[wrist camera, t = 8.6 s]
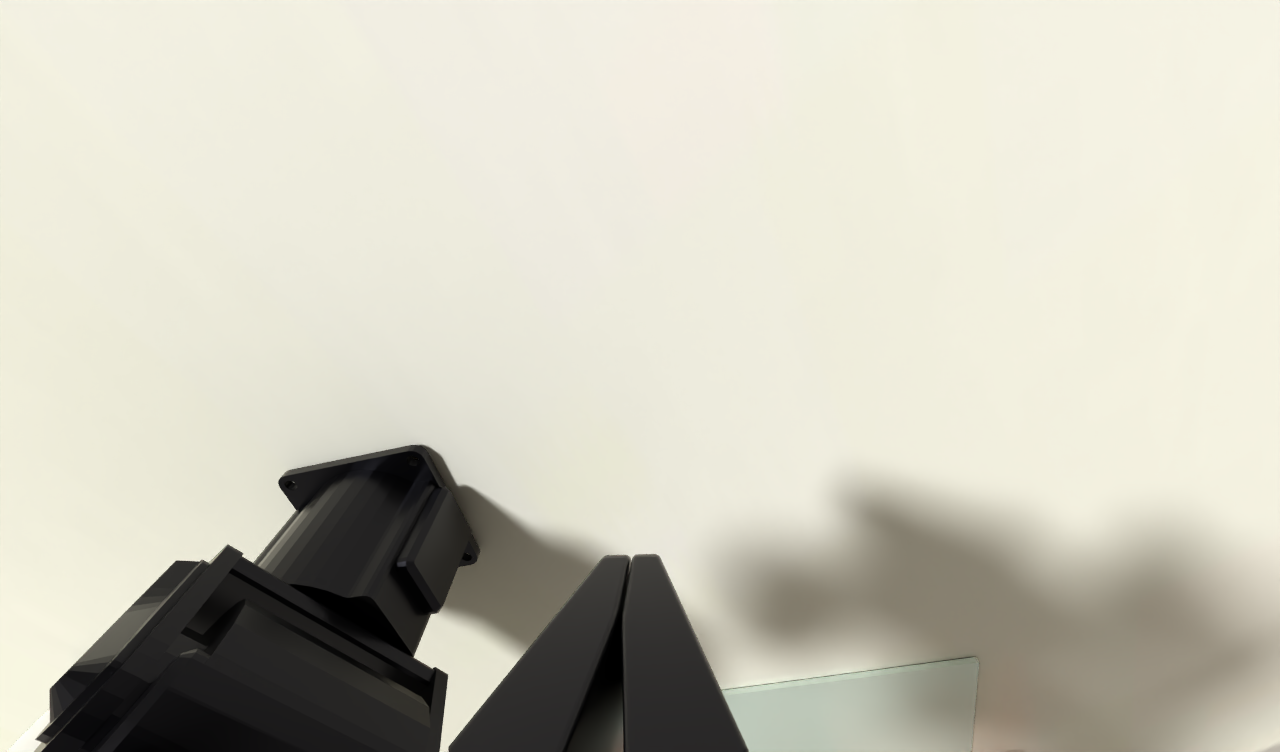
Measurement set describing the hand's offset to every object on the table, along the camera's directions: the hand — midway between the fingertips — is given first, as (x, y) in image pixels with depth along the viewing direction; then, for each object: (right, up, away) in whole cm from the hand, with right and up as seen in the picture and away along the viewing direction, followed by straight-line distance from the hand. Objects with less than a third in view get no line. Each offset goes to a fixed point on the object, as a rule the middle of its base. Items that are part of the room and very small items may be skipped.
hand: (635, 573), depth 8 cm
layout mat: (+13, -22, +26) cm, 36 cm away
